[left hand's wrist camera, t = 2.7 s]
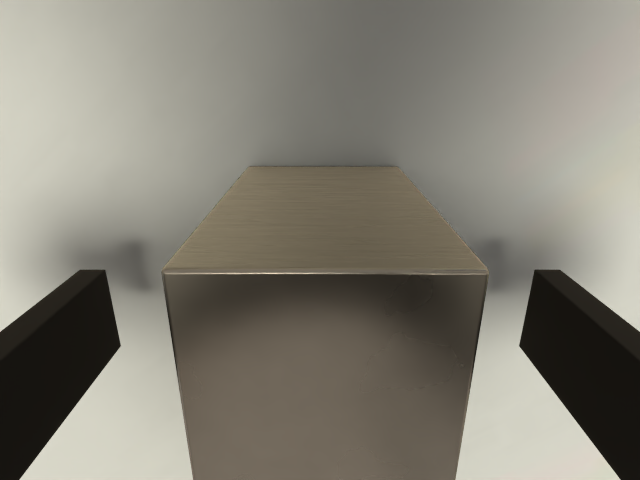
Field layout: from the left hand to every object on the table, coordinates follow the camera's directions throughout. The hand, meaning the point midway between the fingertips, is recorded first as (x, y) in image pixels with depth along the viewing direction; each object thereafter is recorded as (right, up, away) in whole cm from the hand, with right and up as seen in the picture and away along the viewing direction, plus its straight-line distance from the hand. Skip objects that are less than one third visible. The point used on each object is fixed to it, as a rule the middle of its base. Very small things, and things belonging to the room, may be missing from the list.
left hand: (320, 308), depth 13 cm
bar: (0, -6, +6) cm, 8 cm away
